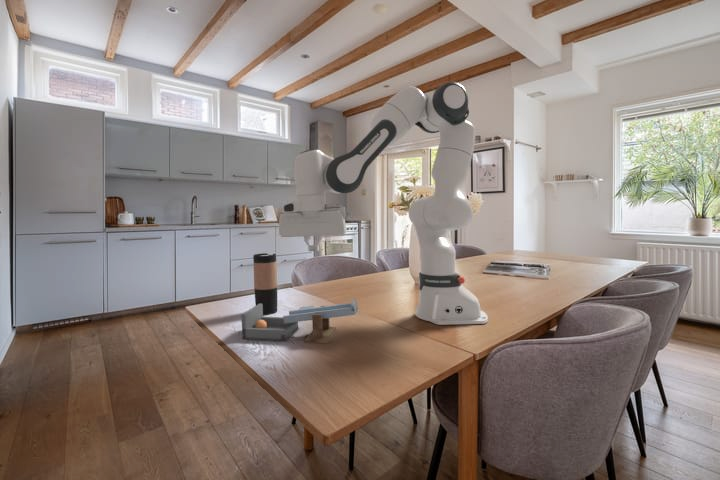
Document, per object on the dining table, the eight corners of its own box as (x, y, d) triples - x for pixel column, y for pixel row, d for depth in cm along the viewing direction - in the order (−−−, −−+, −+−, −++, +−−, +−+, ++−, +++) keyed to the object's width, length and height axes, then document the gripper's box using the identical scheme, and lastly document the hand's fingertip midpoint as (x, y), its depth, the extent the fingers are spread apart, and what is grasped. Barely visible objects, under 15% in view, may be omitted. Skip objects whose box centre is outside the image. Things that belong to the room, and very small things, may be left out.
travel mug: (257, 316, 115) (255, 256, 113) (253, 310, 122) (251, 254, 120) (280, 313, 119) (278, 254, 117) (275, 307, 125) (273, 252, 124)
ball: (256, 324, 101) (265, 331, 101) (251, 328, 98) (260, 334, 98) (261, 316, 101) (270, 322, 100) (256, 319, 98) (265, 325, 97)
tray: (298, 327, 103) (297, 304, 103) (284, 341, 93) (283, 315, 92) (260, 326, 105) (259, 303, 105) (242, 339, 94) (241, 314, 94)
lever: (361, 302, 104) (360, 293, 104) (354, 314, 92) (353, 304, 92) (298, 310, 107) (297, 301, 107) (284, 323, 95) (282, 313, 95)
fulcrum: (336, 329, 101) (335, 305, 101) (327, 343, 91) (326, 316, 90) (316, 328, 102) (315, 304, 102) (305, 342, 92) (304, 315, 91)
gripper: (347, 203, 106) (349, 248, 107) (283, 206, 109) (285, 250, 110) (343, 203, 99) (345, 251, 101) (275, 206, 102) (278, 253, 104)
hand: (313, 251), depth 105 cm, fingers closed
